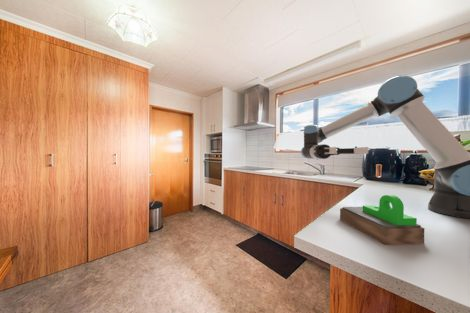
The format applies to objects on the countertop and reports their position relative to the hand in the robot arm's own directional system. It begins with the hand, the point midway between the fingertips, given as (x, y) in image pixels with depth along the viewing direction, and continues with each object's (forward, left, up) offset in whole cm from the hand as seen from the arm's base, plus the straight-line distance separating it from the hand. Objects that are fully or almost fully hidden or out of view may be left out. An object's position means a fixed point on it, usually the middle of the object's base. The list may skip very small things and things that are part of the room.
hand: (351, 150), depth 66 cm
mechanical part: (-2, +13, -22) cm, 26 cm away
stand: (0, +11, -27) cm, 29 cm away
